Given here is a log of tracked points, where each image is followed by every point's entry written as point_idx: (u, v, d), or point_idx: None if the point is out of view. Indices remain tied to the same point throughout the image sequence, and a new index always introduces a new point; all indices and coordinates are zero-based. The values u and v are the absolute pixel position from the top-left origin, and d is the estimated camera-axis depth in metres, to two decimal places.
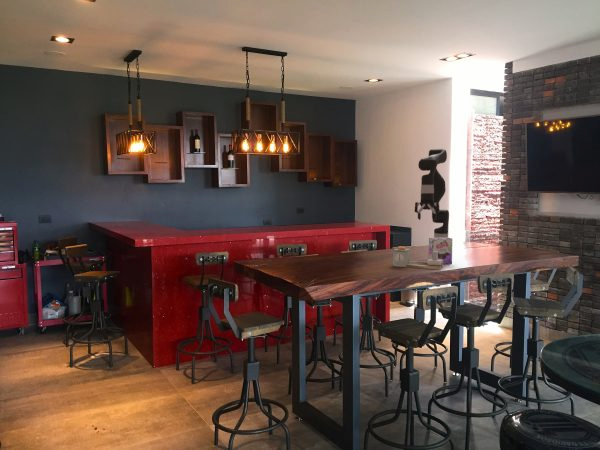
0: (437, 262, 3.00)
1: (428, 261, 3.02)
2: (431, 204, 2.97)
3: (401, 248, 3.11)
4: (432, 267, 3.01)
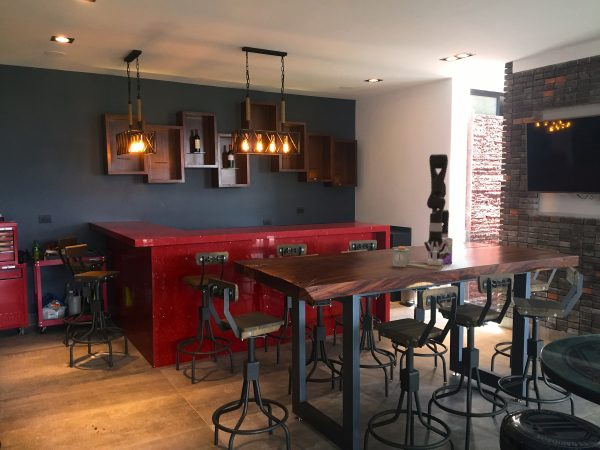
0: (437, 262, 3.00)
1: (428, 261, 3.02)
2: (439, 241, 3.01)
3: (401, 248, 3.11)
4: (432, 267, 3.01)
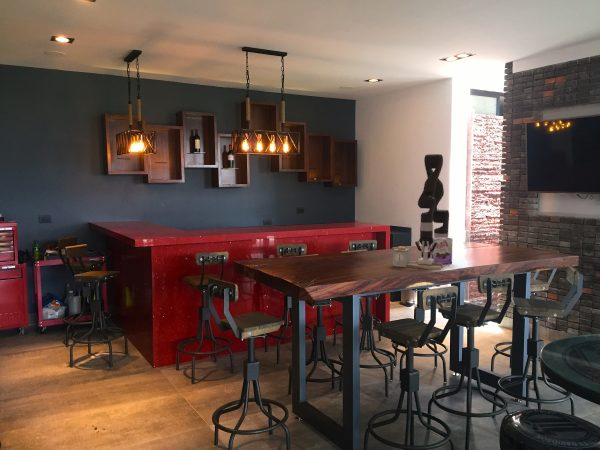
0: (428, 261, 3.02)
1: (419, 260, 3.05)
2: (430, 241, 3.04)
3: (401, 248, 3.11)
4: (432, 267, 3.01)
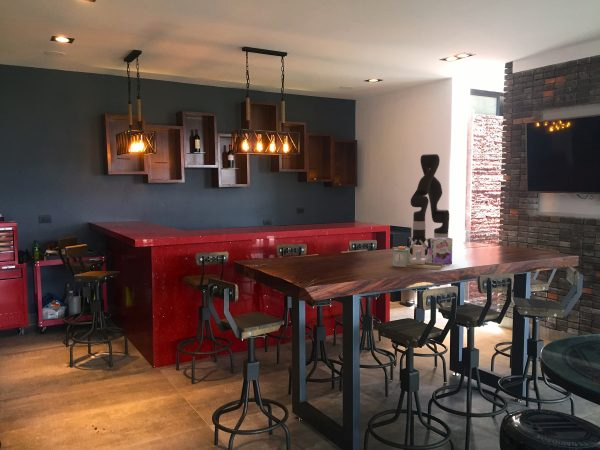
0: (420, 261, 3.04)
1: (412, 260, 3.07)
2: (423, 240, 3.06)
3: (401, 248, 3.11)
4: (432, 267, 3.01)
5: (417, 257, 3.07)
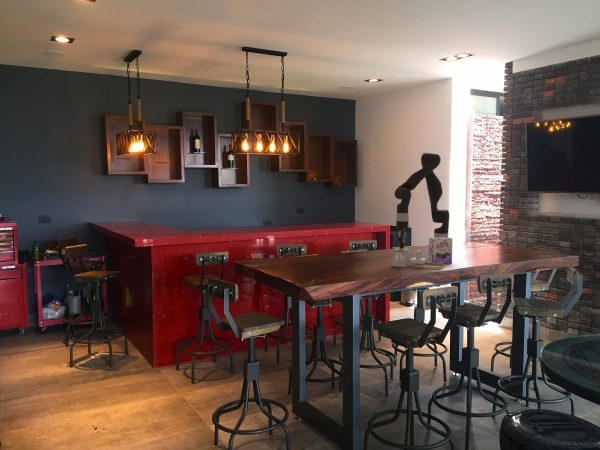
0: (420, 261, 3.04)
1: (412, 260, 3.07)
2: None
3: (401, 249, 3.11)
4: (432, 267, 3.01)
5: (417, 257, 3.07)
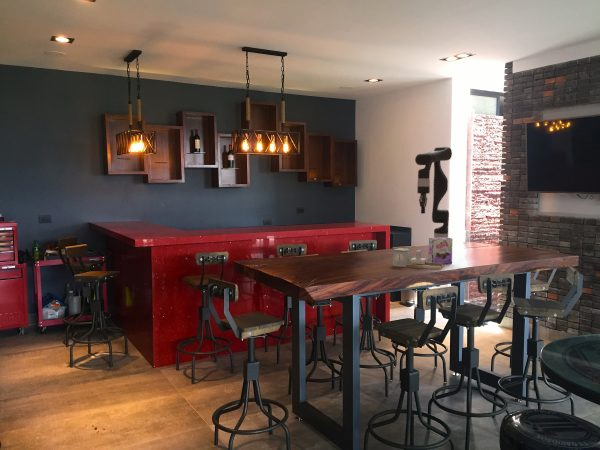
0: (420, 261, 3.04)
1: (412, 260, 3.07)
2: None
3: None
4: (432, 267, 3.01)
5: (417, 257, 3.07)
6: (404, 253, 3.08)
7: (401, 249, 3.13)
